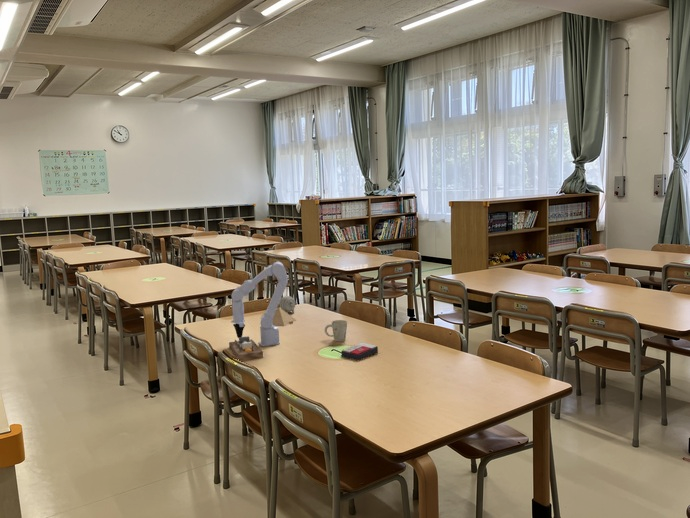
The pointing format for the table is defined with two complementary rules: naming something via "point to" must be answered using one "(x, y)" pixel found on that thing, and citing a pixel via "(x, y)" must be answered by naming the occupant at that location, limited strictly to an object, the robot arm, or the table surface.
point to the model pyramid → (282, 318)
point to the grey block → (245, 342)
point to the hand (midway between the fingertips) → (239, 337)
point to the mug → (338, 330)
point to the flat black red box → (359, 351)
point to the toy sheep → (287, 304)
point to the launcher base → (241, 353)
